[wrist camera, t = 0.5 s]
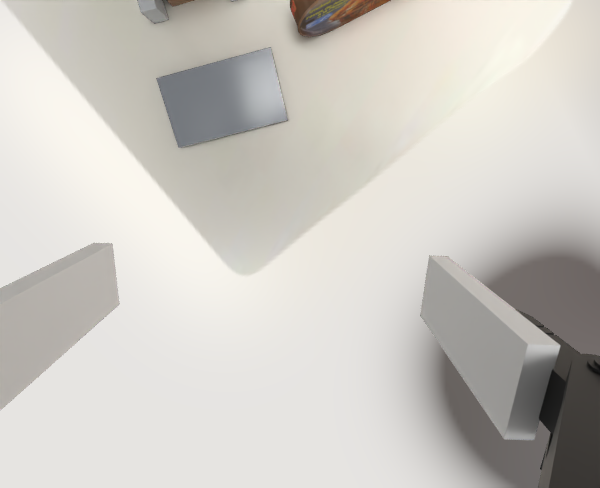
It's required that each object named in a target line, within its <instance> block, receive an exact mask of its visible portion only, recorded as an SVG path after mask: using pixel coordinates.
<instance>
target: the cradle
mask: <svg viewBox="0 0 600 488" xmlns="http://www.w3.org/2000/svg"><path fill="white" fill-rule="evenodd" d="M137 1H138V4H139V7H140V11H141V13H142V14H144V15H145V16H146V17H147V18H148V19H150V20H151V21H152V22H153V23H154V24H155V23H159V22H162V21H166V20H169V19H168V16H167V12H166V9H165V6H164V2H163V0H137ZM232 1H236V0H231V2H232Z"/></svg>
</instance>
